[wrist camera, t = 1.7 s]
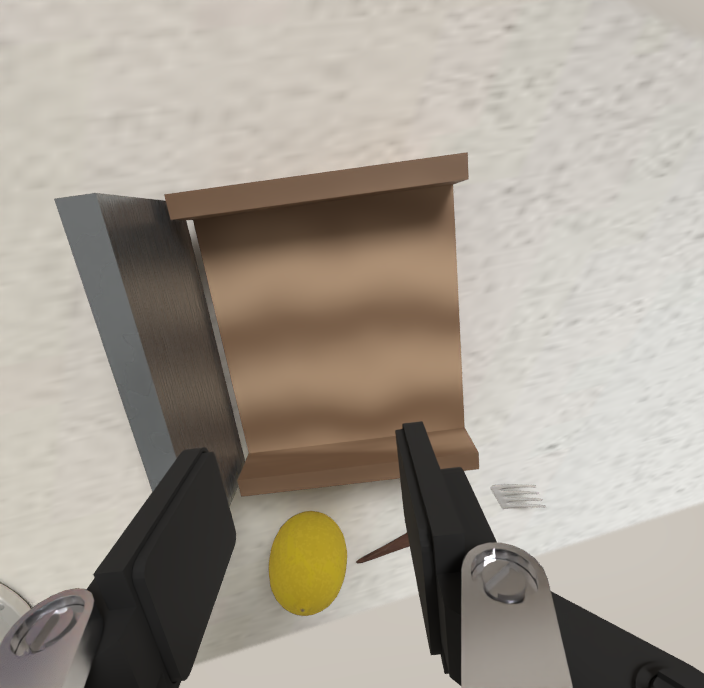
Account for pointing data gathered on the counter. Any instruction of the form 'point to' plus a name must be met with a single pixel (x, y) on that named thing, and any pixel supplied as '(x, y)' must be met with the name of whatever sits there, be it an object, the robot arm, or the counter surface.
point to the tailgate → (154, 329)
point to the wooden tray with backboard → (337, 317)
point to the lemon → (307, 563)
